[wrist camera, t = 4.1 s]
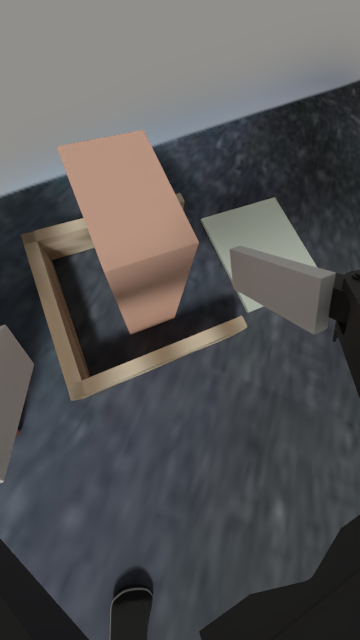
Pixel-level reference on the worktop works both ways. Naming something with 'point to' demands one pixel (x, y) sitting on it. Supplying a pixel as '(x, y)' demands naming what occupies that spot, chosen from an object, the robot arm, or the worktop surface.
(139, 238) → the peach block
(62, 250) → the birch bay
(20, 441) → the worktop surface
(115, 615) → the kitchen cleaver
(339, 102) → the worktop surface
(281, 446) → the worktop surface
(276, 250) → the sage mat
